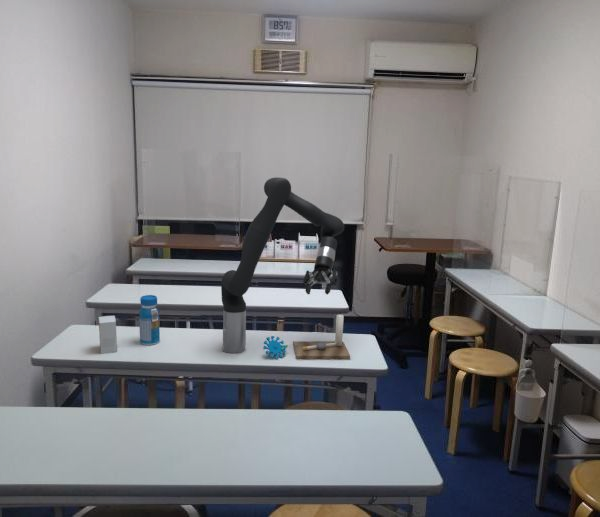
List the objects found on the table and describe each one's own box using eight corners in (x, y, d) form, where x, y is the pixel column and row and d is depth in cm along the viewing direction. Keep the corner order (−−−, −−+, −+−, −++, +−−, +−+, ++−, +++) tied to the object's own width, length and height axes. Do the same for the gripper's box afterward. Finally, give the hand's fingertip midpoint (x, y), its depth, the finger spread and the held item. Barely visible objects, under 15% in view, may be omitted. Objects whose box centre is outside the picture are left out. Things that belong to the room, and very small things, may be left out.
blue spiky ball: (266, 357, 201) (262, 334, 207) (261, 363, 206) (257, 341, 211) (291, 357, 206) (286, 335, 212) (285, 363, 211) (281, 341, 216)
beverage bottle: (138, 346, 212) (137, 300, 208) (140, 339, 220) (138, 294, 216) (159, 345, 214) (158, 299, 210) (160, 338, 222) (159, 293, 218)
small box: (99, 346, 210) (98, 316, 208) (116, 344, 213) (115, 315, 210) (100, 353, 203) (99, 322, 201) (117, 352, 206) (116, 321, 203)
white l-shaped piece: (305, 352, 208) (306, 321, 205) (300, 348, 212) (301, 318, 209) (344, 346, 216) (345, 316, 213) (338, 342, 220) (340, 313, 217)
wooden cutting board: (296, 359, 205) (296, 355, 205) (292, 344, 220) (293, 341, 220) (350, 359, 207) (350, 355, 207) (343, 344, 223) (343, 341, 222)
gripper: (306, 255, 216) (297, 289, 208) (337, 254, 209) (329, 288, 201) (313, 265, 221) (305, 297, 213) (343, 263, 214) (336, 297, 207)
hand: (317, 293), depth 207 cm, fingers open, 8 cm apart
